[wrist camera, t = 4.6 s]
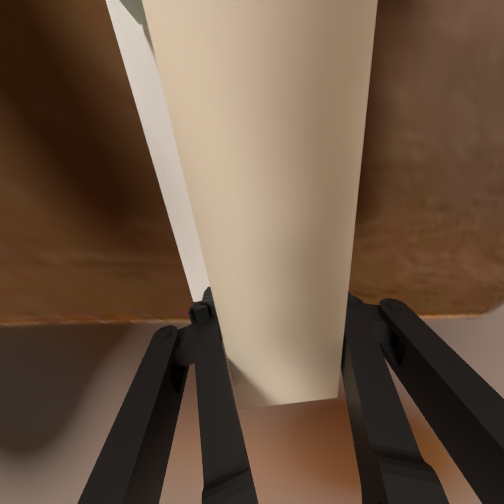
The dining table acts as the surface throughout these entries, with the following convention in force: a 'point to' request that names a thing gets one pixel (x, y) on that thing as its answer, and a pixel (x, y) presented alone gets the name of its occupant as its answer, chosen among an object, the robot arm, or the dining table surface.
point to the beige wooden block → (271, 174)
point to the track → (160, 140)
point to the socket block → (135, 10)
